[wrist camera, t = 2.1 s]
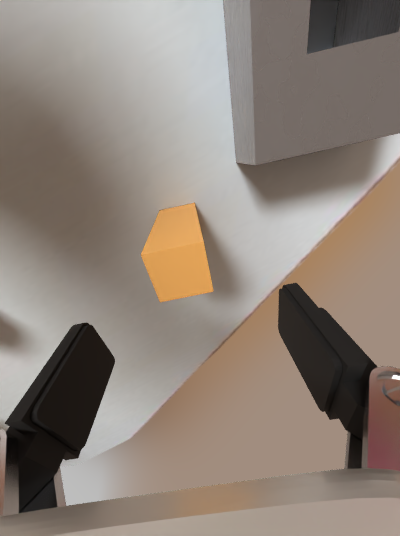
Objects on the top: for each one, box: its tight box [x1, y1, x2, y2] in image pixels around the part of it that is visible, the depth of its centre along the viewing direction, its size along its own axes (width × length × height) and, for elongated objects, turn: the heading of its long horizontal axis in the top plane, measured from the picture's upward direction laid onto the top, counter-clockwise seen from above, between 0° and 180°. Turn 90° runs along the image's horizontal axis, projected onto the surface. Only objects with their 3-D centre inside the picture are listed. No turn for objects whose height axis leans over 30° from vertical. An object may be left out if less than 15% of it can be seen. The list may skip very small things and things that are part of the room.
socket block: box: [223, 0, 400, 165], centre depth 12 cm, size 16×12×6 cm
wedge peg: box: [141, 203, 214, 302], centre depth 17 cm, size 4×4×11 cm
